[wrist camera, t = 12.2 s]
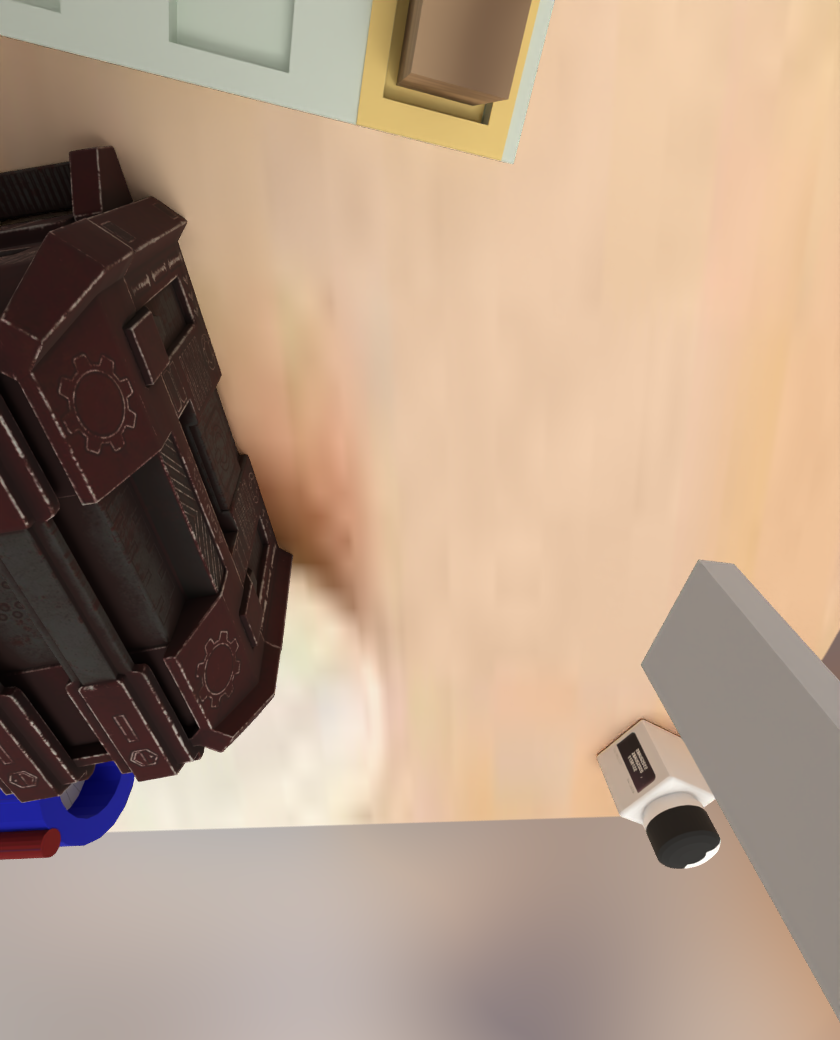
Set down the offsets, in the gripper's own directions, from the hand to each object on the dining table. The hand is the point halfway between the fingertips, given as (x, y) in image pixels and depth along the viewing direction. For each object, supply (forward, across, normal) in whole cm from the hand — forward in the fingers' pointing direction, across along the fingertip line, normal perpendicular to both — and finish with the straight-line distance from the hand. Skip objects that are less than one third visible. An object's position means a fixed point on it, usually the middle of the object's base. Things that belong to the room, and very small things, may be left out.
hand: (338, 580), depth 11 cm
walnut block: (+33, +4, +12) cm, 35 cm away
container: (+35, +42, -47) cm, 72 cm away
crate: (+35, -14, -16) cm, 41 cm away
